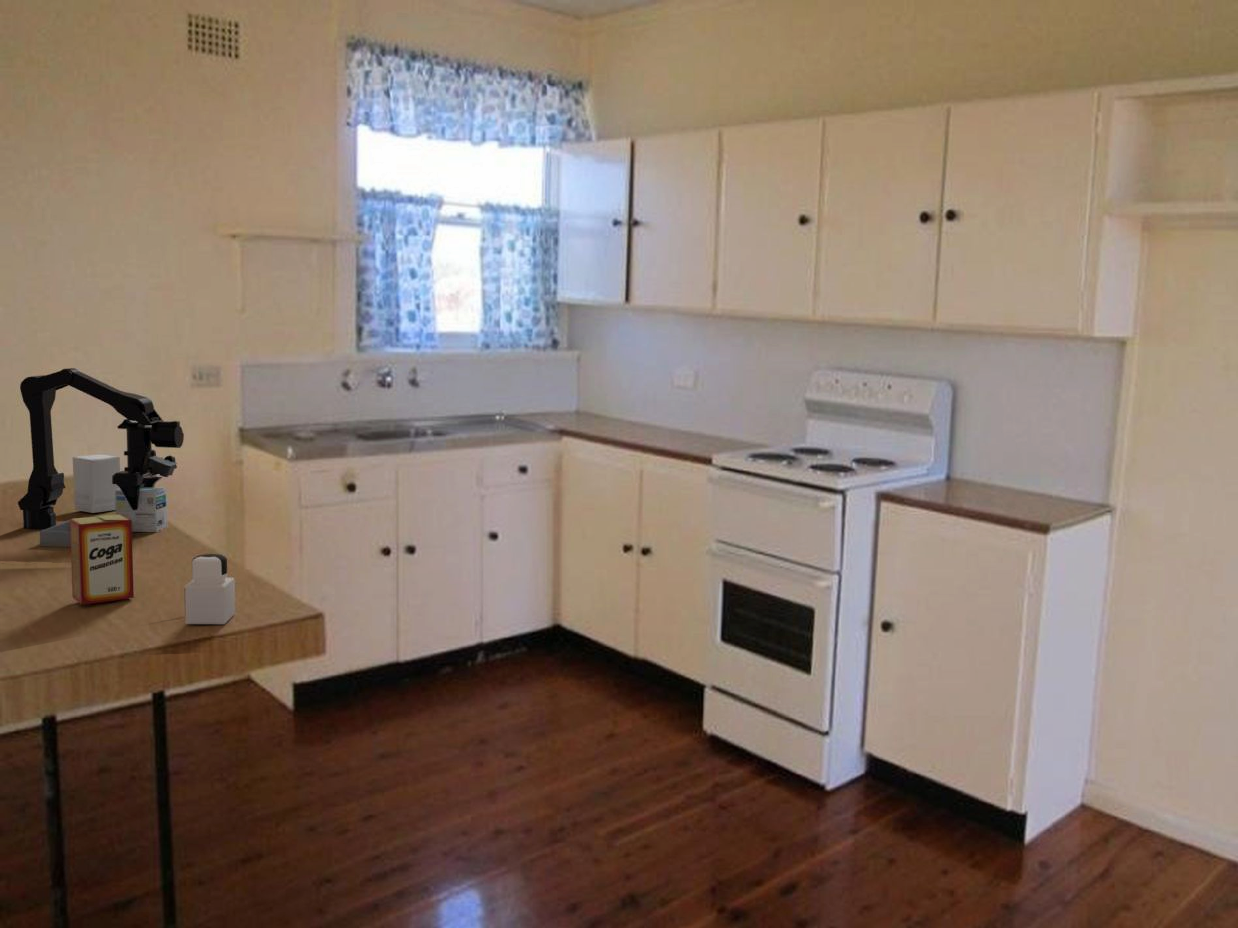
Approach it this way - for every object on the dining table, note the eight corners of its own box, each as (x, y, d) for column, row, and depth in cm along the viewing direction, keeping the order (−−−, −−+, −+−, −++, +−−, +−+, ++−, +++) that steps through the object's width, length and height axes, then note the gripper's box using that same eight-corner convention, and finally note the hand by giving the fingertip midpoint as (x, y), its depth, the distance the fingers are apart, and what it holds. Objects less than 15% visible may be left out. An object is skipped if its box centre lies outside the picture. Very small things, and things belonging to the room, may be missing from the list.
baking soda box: (81, 604, 206) (78, 522, 204) (72, 597, 211) (69, 517, 209) (133, 597, 212) (131, 517, 210) (123, 590, 217) (121, 512, 215)
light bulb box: (168, 528, 279) (167, 487, 278) (157, 532, 272) (156, 490, 271) (126, 526, 279) (125, 485, 278) (114, 531, 272) (113, 489, 271)
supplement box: (122, 509, 303) (121, 456, 301) (92, 513, 295) (90, 459, 293) (103, 505, 307) (102, 453, 305) (73, 509, 300) (71, 456, 298)
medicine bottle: (196, 613, 203) (195, 551, 201) (235, 614, 203) (234, 551, 202) (184, 624, 196) (183, 559, 194) (225, 624, 196) (223, 560, 195)
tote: (40, 546, 254) (39, 531, 254) (71, 533, 269) (71, 519, 269) (105, 547, 254) (104, 533, 254) (133, 534, 270) (132, 521, 269)
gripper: (156, 452, 264) (157, 515, 266) (185, 443, 282) (186, 502, 284) (110, 450, 264) (112, 513, 266) (142, 442, 282) (144, 500, 284)
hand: (140, 507), depth 275 cm, fingers closed on light bulb box, 7 cm apart
